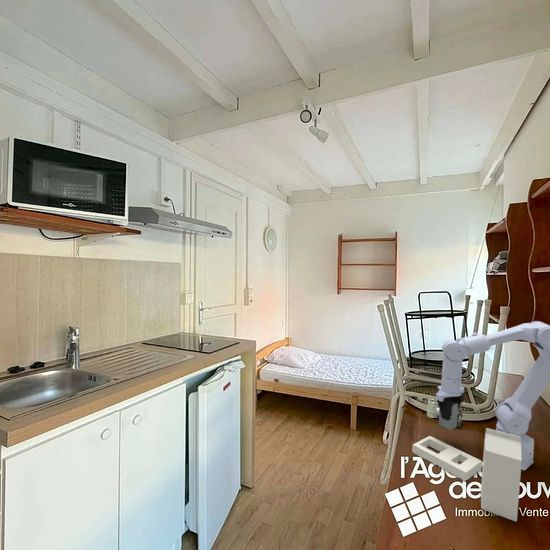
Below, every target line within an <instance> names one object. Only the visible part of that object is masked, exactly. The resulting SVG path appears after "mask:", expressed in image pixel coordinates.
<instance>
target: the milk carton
mask: <svg viewBox="0 0 550 550" xmlns="http://www.w3.org/2000/svg"><path fill="white" fill-rule="evenodd" d="M483 441H484V444H483V445H484V446H483V454H482V455H483V456H482V468H481V471H482V473H481V485H480V486H481V487H480V508H481V509H482V510H483V511H487V512H489V513H491V514H495V515H497V516H499V517H503V518H504V519H507V520H510V521H513V522H516V523H517V521H518V510H519V499H520V486H521V474H522V473H521V472H522V469H521V462H522V456H521V437H519V436H515V435H511V434H508V433H504V432H500V431H496V429H491V428H488V427H485V434H484V440H483Z"/></svg>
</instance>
